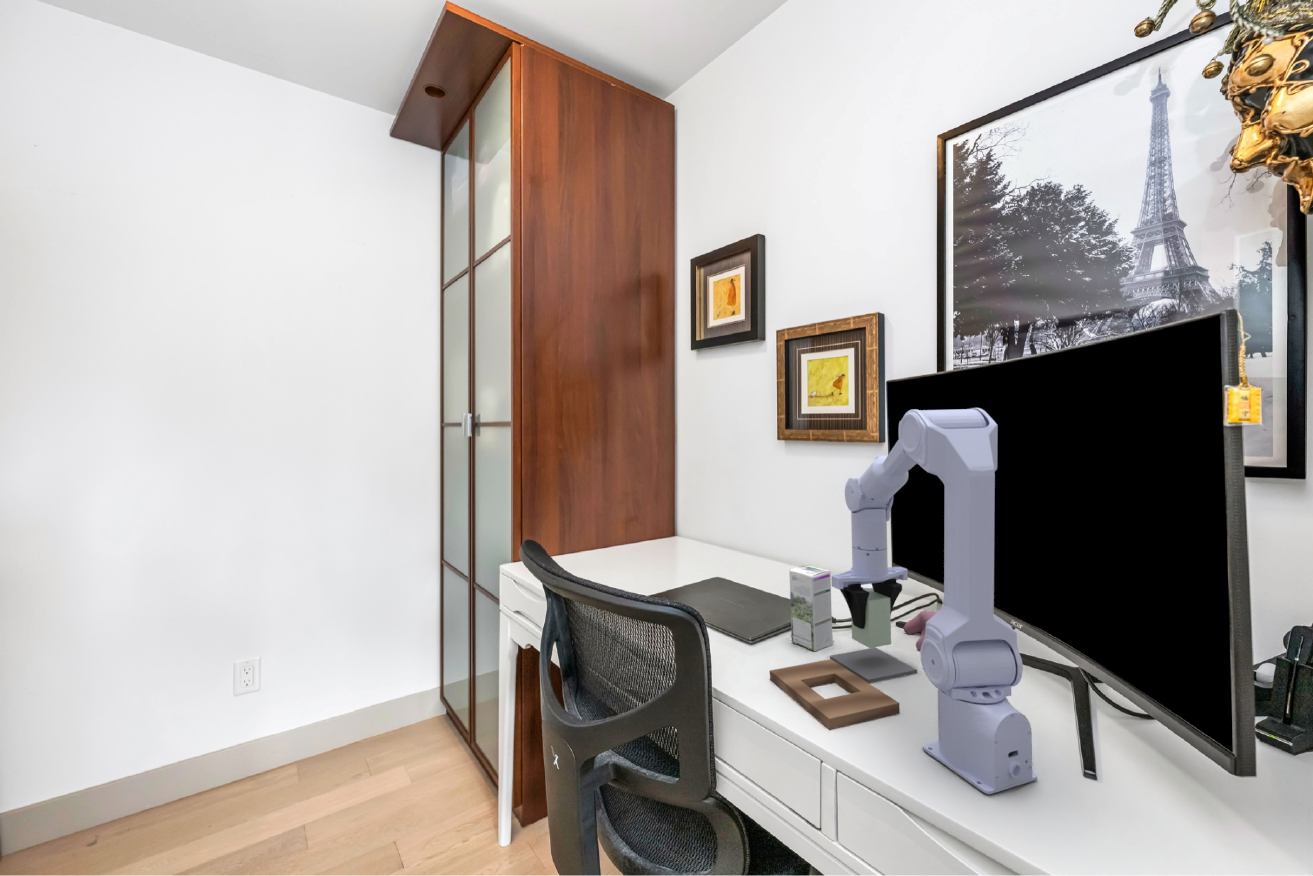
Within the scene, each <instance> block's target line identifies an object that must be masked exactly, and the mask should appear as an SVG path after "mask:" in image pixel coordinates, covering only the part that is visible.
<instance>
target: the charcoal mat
mask: <svg viewBox="0 0 1313 876" xmlns="http://www.w3.org/2000/svg"><path fill="white" fill-rule="evenodd" d="M829 659H831V660H833V661H835V662H836V663H838V664H839V665H841V666H842V667H844V668H846V669H847V670H849V671H850V672H852V673H853V674H855V675H857V676H858V677H860V678H861V679H863V680H864V681H866V682H867V683H869V684H873V683H877V682H881V681H886V680H891V679H895V678H901V677H905V676H909V675H915V674H918V669H917V668H915V667H913V666H911V665H910V664H908V663H906V662H903V661H902V660H900V659H899V658H896V657H894V656H893V655H891V654H889V653H887V652H885V651H883V650H882V649H879V648H878V647H874V648H865V649H859V650H854V651H847V652H842V653H837V654H832V655H829Z"/></svg>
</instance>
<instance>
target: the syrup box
mask: <svg viewBox="0 0 1313 876" xmlns="http://www.w3.org/2000/svg"><path fill="white" fill-rule="evenodd" d="M831 574H832V573H831V570H828V569H824V568H820V567H817V566H811V565H800V566H797V567H795V568H791V569H789V593H790V594H789V597H790V599H789V600H790V627H791V629H790V630H791V631H790V632H791V635H790V636H791V642H792V643H793V644H795V645H798V646H801V647H803V648H805V649H808V650H811V651H813V652H818V651H819V650H820V651H821V650H823V649H825V648H828V647H830V646H832V645H833V644H834V643H833V618H832V617H833V616H832V615H833V614H832V581H831V576H832V575H831Z"/></svg>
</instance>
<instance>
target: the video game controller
mask: <svg viewBox="0 0 1313 876" xmlns="http://www.w3.org/2000/svg"><path fill="white" fill-rule="evenodd" d="M936 613H937V612H935V611H932V610H927V609H926V608H924V610H922V611H920V612H919V613H918V614H917V615H915V616H914V617H912V619H910V620H908V621H907V622H906V623H905V624H904V626H903V632H904V633H905V634H907V635H913V634H917V633H920V632H921V634H920V635H921V636H920V637H919V638H918V639H917V641H916V642H915V648H916V649H917V651H921V646H922V643H923V640H924V637H925V631H926V622H927V621H928V620H929V619H930V618H931V617H932V616H934V615H935V614H936Z"/></svg>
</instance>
